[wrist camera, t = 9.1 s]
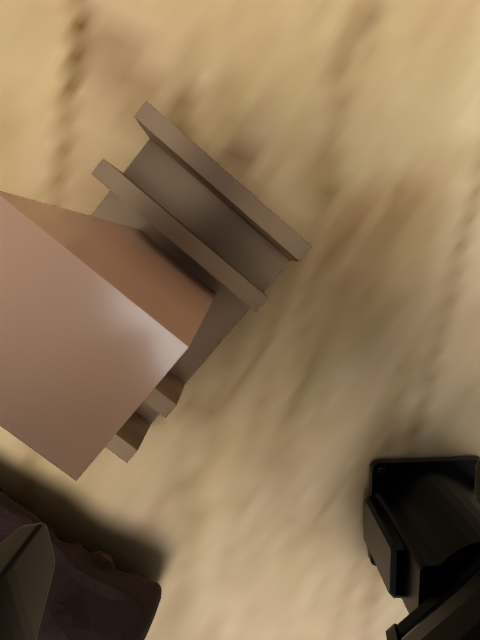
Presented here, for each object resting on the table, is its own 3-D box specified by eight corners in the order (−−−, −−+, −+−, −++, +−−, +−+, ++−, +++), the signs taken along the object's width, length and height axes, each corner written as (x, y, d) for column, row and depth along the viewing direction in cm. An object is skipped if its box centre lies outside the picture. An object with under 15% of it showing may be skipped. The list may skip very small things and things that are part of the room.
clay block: (216, 293, 20) (188, 347, 8) (167, 351, 21) (76, 481, 9) (138, 229, 20) (-9, 188, 8) (90, 290, 20) (-117, 340, 8)
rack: (298, 248, 21) (312, 246, 17) (145, 427, 22) (126, 462, 18) (163, 130, 20) (146, 100, 16) (12, 326, 21) (-35, 341, 17)
